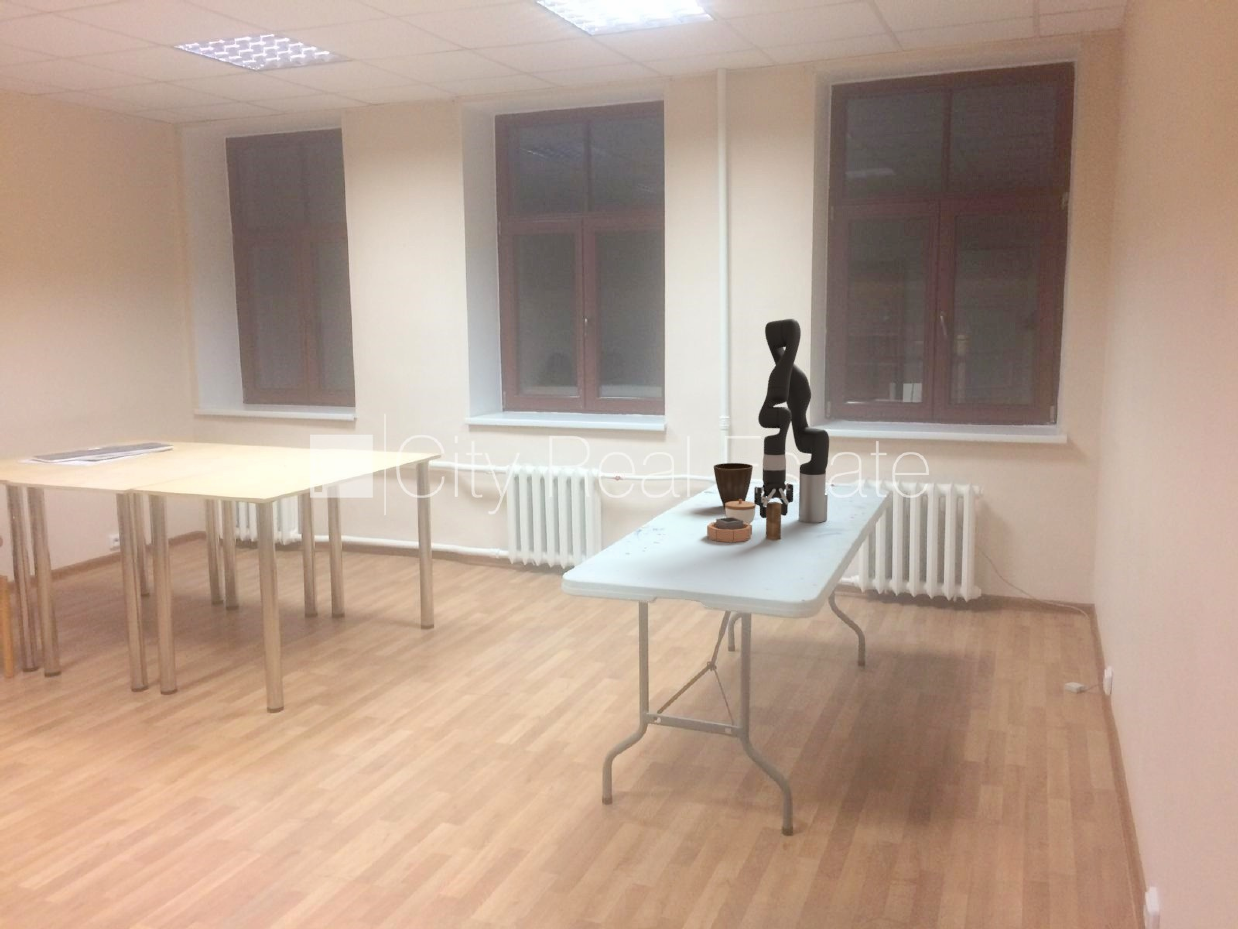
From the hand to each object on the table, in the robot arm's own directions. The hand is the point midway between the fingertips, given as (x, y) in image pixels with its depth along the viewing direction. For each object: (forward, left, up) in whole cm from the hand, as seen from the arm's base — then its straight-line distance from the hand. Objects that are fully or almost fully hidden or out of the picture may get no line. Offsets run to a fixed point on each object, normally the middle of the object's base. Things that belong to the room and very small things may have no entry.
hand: (773, 516), depth 320 cm
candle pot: (+12, -8, -7) cm, 16 cm away
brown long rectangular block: (0, 0, -7) cm, 7 cm away
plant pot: (-16, -51, -8) cm, 54 cm away
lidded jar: (-1, -22, -8) cm, 23 cm away
